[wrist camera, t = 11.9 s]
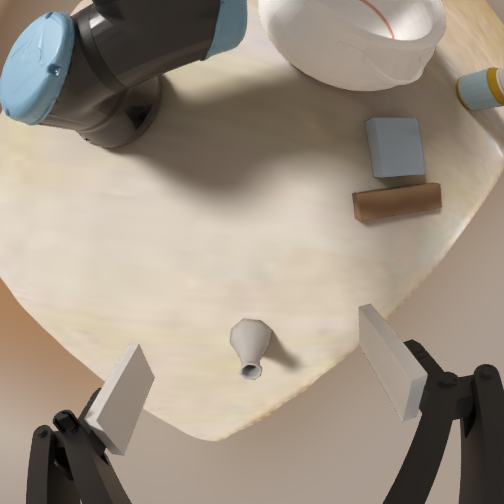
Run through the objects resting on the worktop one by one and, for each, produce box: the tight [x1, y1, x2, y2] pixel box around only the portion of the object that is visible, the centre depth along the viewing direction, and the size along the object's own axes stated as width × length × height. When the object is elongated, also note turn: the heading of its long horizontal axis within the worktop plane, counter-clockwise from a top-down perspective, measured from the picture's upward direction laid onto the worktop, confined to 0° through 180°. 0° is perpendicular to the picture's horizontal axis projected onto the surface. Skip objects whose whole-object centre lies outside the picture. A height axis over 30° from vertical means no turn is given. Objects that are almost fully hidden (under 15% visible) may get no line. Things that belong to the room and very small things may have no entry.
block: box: [352, 183, 442, 221], centre depth 40 cm, size 4×16×2 cm, turn 101°
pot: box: [259, 0, 446, 91], centre depth 26 cm, size 29×26×16 cm
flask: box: [230, 319, 272, 380], centre depth 43 cm, size 7×7×10 cm
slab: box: [365, 117, 425, 177], centre depth 38 cm, size 4×8×9 cm
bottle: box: [456, 67, 504, 111], centre depth 28 cm, size 7×7×15 cm
